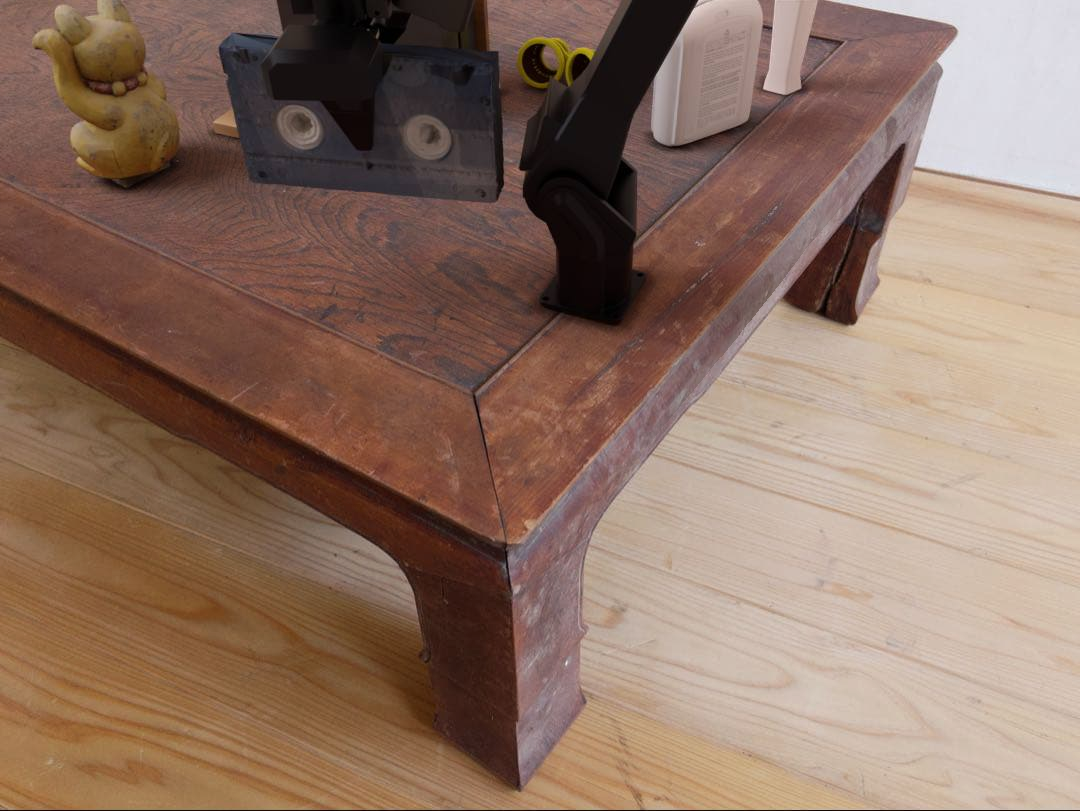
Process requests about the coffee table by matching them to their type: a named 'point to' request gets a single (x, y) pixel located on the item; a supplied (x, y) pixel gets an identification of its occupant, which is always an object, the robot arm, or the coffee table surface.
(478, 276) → the coffee table surface
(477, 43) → the tape rack
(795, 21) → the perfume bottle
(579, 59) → the yellow hollow cylinder
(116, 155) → the decorative figurine
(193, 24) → the coffee table surface
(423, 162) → the vhs cassette tape
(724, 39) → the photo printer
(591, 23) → the coffee table surface
